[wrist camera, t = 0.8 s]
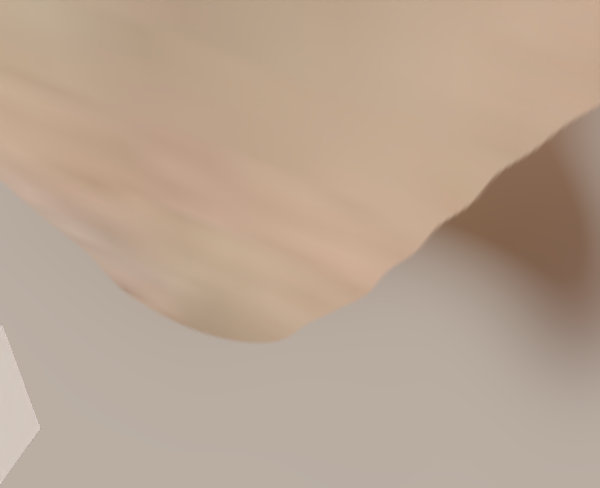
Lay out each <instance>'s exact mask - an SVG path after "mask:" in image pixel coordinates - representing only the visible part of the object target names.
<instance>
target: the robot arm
mask: <svg viewBox="0 0 600 488" xmlns="http://www.w3.org/2000/svg"><path fill="white" fill-rule="evenodd" d="M40 429H41V428H40V425H39V423H38V420H37V417H36V414H35V412H34V409H33V406H32V404H31V401H30V398H29V396H28V393H27V390H26V387H25V385H24V382H23V379H22V377H21V374H20V371H19V369H18V366H17V363H16V360H15V358H14V355H13V352H12V349H11V347H10V344H9V342H8V339H7V336H6V333H5V330H4V328H3V325H0V484H1V483H2V481H3V480H4V478H5V477H6V476H7V474H8V473H9V471H10V470H11V469H12V467H13V466H14V464H15V463H16V462H17V460H18V459H19V458H20V456H21V455H22V454H23V452H24V451H25V449H26V448H27V447H28V445H29V444H30V443H31V441H32V440H33V438H34V437H35V436H36V434H37V433H38V431H39V430H40Z"/></svg>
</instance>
